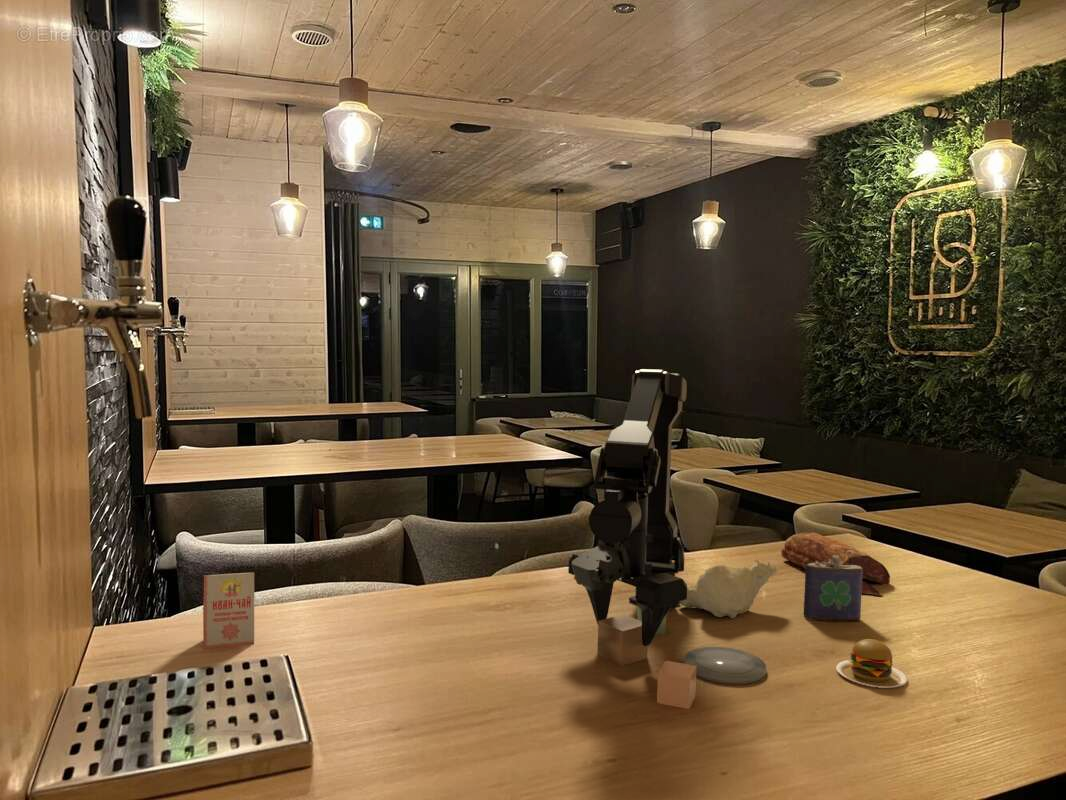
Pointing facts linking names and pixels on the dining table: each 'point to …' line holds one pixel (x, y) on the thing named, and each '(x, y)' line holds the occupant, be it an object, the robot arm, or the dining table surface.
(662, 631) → the green tin
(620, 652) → the walnut block
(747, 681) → the saucer
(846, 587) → the flask
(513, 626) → the dining table surface
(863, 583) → the cured meat
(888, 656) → the hamburger
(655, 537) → the robot arm
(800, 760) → the dining table surface
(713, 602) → the white lumpy piece
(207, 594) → the tea box
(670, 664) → the terracotta block
